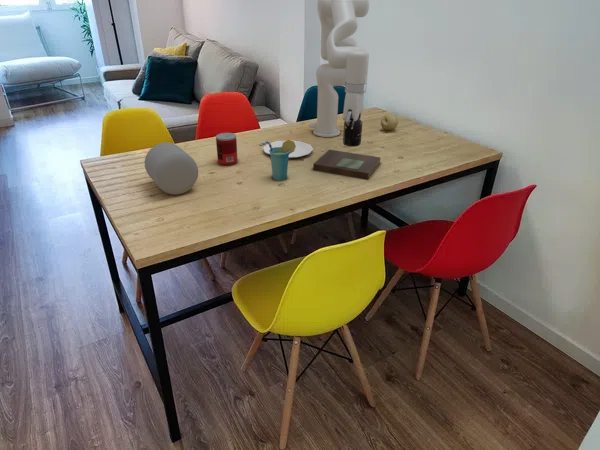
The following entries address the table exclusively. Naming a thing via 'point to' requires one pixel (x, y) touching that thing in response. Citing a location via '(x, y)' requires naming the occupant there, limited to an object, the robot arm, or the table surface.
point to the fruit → (389, 122)
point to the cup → (280, 158)
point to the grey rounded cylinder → (171, 168)
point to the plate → (299, 150)
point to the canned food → (226, 149)
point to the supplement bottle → (357, 133)
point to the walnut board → (347, 164)
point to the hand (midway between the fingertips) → (352, 135)
